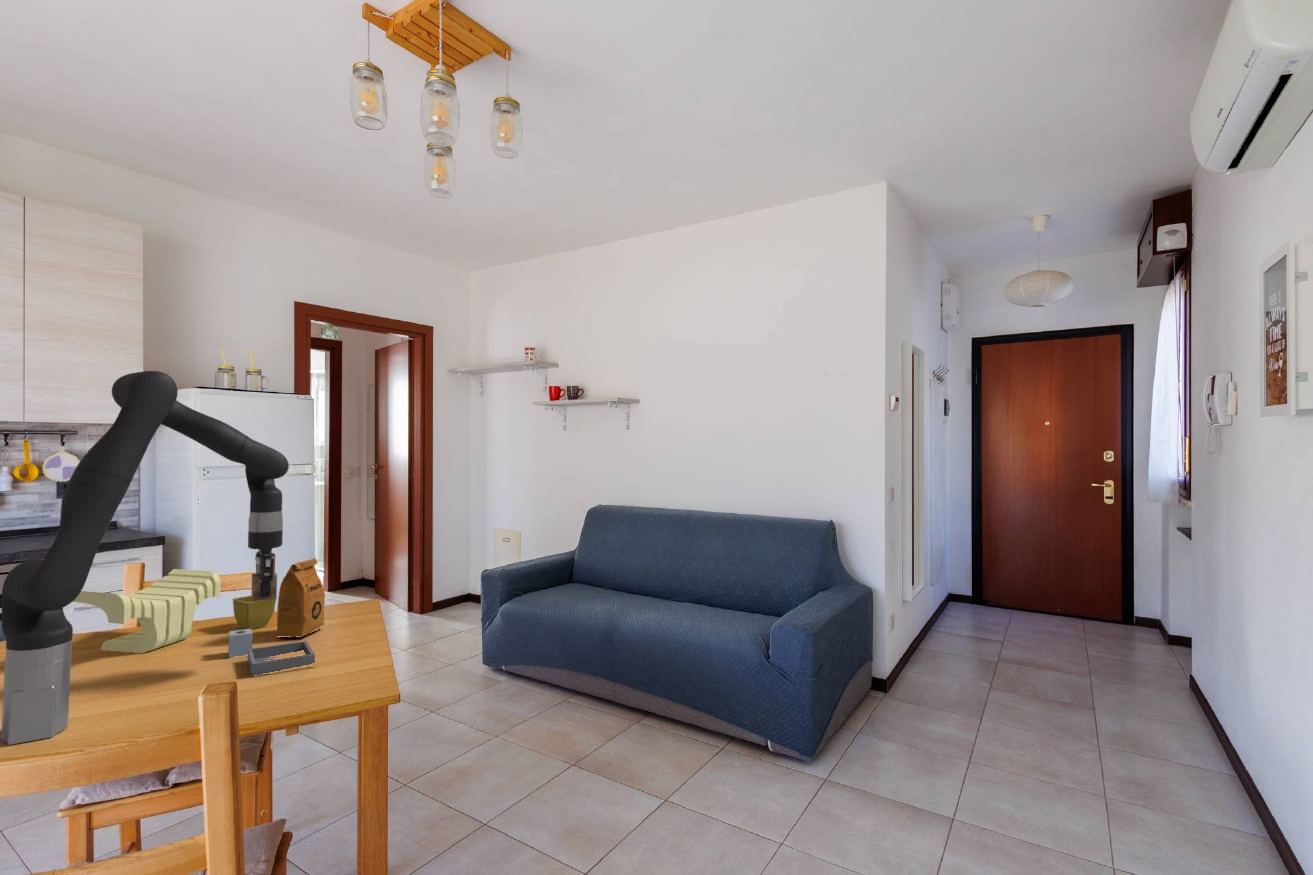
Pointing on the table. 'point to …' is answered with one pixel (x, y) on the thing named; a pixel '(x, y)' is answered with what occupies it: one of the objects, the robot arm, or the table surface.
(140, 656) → the table surface
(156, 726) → the table surface
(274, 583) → the walnut block
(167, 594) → the slatted curved stool
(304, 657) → the tray
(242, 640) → the slate block
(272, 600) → the flower pot
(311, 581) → the coffee package
